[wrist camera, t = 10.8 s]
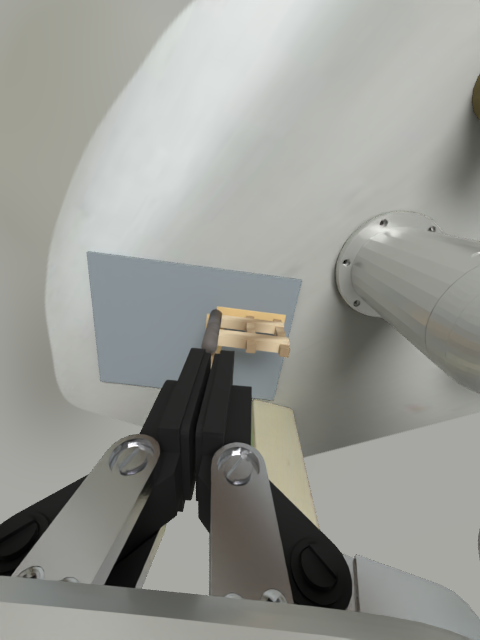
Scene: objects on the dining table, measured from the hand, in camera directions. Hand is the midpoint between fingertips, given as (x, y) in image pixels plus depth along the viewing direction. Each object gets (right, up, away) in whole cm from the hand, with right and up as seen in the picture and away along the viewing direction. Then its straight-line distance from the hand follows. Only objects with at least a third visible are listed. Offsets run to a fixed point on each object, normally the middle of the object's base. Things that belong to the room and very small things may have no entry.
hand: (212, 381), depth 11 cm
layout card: (-5, 0, +26) cm, 27 cm away
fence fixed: (+2, +3, +25) cm, 26 cm away
